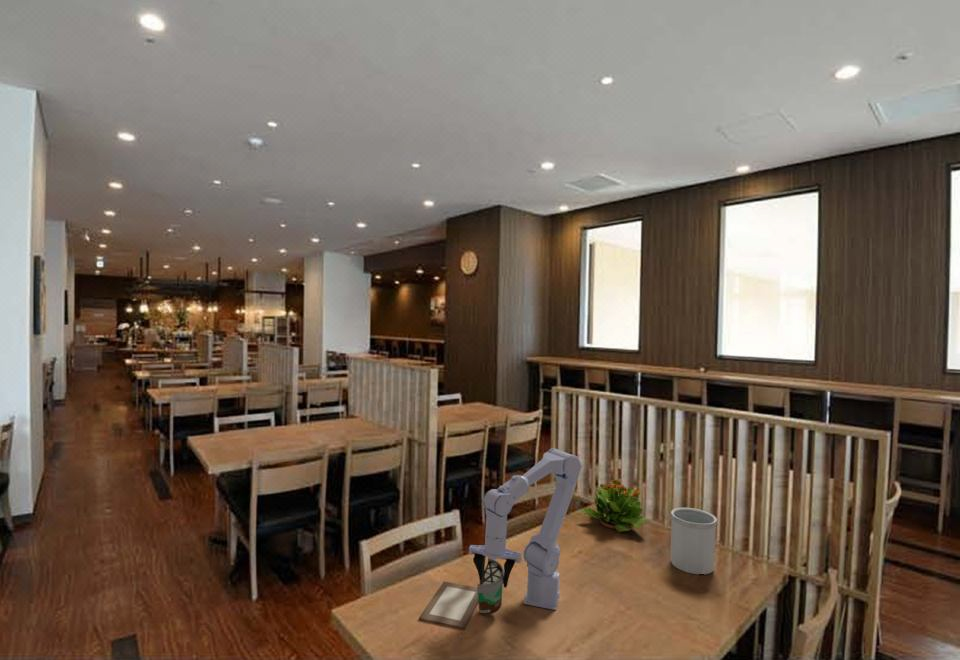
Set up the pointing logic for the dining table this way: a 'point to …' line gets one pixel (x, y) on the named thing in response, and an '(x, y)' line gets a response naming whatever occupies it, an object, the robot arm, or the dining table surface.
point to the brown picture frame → (451, 605)
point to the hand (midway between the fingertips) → (493, 583)
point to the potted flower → (617, 507)
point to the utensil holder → (693, 540)
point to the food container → (490, 588)
